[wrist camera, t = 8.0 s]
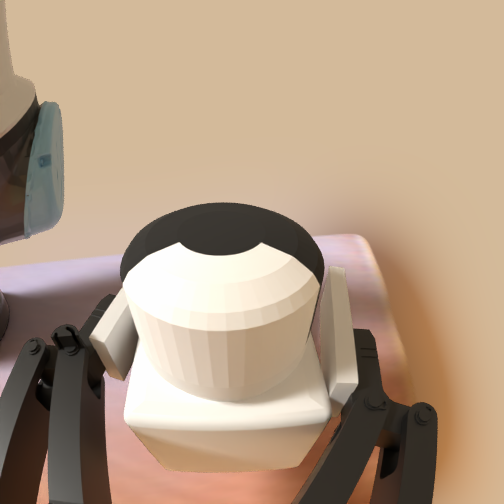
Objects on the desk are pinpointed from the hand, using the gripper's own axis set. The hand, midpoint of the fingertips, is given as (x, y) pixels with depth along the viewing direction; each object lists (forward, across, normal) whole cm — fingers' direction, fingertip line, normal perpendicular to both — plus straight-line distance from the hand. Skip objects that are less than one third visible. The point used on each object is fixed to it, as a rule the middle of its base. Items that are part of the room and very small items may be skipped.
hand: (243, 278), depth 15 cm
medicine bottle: (-5, 0, -7) cm, 8 cm away
